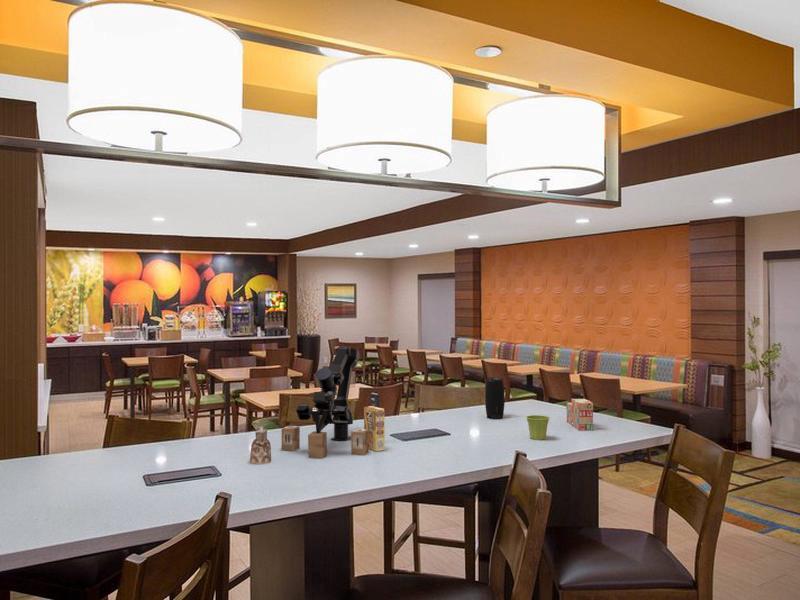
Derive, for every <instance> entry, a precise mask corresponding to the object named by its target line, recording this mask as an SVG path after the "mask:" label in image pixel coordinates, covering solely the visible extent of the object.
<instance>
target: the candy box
mask: <svg viewBox="0 0 800 600" xmlns="http://www.w3.org/2000/svg"><path fill="white" fill-rule="evenodd" d="M363 429H365V430H369V450H371V451H374V452H380V451H385V448H386V447H385V444H386V443H385V442H386V441H385V438H386V437H385V433H386V432H385V408H383V407H378V406H373V405H369V406H364V407H363Z"/></svg>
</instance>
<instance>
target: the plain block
mask: <svg viewBox="0 0 800 600" xmlns="http://www.w3.org/2000/svg"><path fill="white" fill-rule="evenodd" d="M327 434H328V432H327V431H321V432H320V433H317V432H316V430H315V431H314V430H313V431H312V432H310V433H309V434H308V435H307V442H308V443H307V445H308V446H307V447H308V448H307V449H308V450H307V451H308V453H307V454H308V458H310V459H311V458H312V459H324V457H326V456H327V455H328V437H327V436H328V435H327Z"/></svg>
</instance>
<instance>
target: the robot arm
mask: <svg viewBox="0 0 800 600" xmlns="http://www.w3.org/2000/svg"><path fill="white" fill-rule="evenodd" d="M360 356H361V355H360V351H359V350H358V349H357V348H352V347H351V346H346V345H345V346H343V345H342V346H341V345H339V346H337V348H336V354H335V355H334V358H333V360H332V361H331V364H330V365H322V368H319V369H318V370H317V371H316V372H315V378H316V381H317V385H318V388H319V389H320V391H314V392H313V396H312V402H313V403H314V404H313V406H314V407H312V409H310V407H309V405H308V404H298V405H297V407H296V409H295V411H296V414H297V416H298V419H299V420H301V421H309V420H310V419H311V417H312V421H313V422H314V423H315V431H316V432H317V433H320V432H323V429H325V428H326V426H328V425H333V437H331V438H330V440H332V441H348V440H350V439H351V435H349V426H350V425H353V424H354V418H353V417H354V416H353V412H352V410H351V407H350V404H349V402H348V400H349V393H350V387H351V381H352V374H353V369H355V367H357V365H358V362H359V359H360V358H361V357H360ZM337 386H338V387H337Z"/></svg>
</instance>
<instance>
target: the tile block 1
mask: <svg viewBox="0 0 800 600" xmlns="http://www.w3.org/2000/svg"><path fill="white" fill-rule="evenodd" d="M300 427H301V426H297V425H287V426H285V427H283V428H281V451H285V452H286V451H287V452H295V451H297V450H299V449H300V445H301V444H300V441H301V440H300V439H301V438H300V435H301V434H300V431H301V430H300Z"/></svg>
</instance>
